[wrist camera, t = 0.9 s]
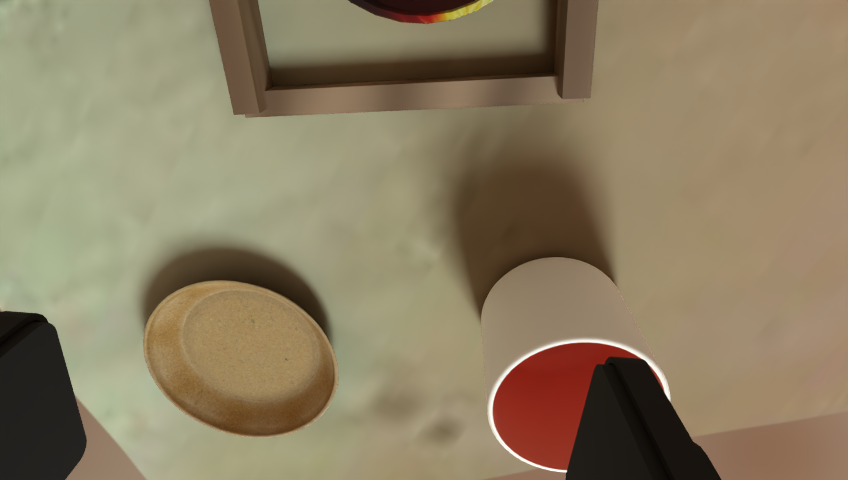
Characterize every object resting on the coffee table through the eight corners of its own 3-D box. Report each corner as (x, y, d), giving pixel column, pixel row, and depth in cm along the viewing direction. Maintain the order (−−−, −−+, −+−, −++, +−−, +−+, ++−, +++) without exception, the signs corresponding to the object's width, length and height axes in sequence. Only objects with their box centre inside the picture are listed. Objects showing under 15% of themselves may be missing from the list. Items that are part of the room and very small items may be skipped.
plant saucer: (133, 270, 38) (112, 288, 36) (324, 256, 37) (315, 274, 35) (193, 417, 45) (179, 441, 42) (359, 410, 43) (353, 435, 41)
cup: (457, 282, 37) (457, 376, 28) (591, 227, 34) (639, 310, 25) (512, 380, 41) (527, 491, 32) (637, 337, 38) (693, 444, 29)
